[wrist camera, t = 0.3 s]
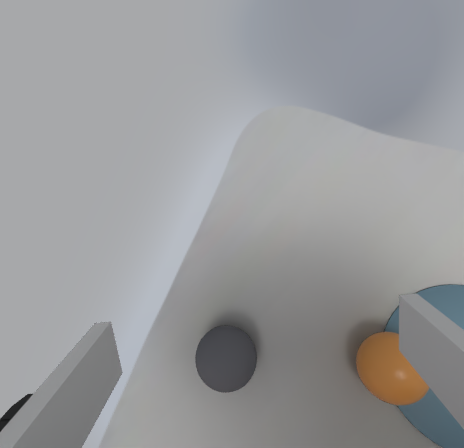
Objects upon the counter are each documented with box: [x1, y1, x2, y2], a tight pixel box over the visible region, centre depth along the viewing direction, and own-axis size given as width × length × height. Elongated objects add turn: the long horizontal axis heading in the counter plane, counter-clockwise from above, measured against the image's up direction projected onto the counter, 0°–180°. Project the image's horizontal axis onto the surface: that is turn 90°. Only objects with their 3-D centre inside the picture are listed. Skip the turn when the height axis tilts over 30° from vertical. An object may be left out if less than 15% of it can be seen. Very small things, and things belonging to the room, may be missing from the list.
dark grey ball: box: [196, 326, 257, 392], centre depth 27 cm, size 6×6×6 cm
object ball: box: [356, 332, 430, 405], centre depth 25 cm, size 6×6×6 cm
